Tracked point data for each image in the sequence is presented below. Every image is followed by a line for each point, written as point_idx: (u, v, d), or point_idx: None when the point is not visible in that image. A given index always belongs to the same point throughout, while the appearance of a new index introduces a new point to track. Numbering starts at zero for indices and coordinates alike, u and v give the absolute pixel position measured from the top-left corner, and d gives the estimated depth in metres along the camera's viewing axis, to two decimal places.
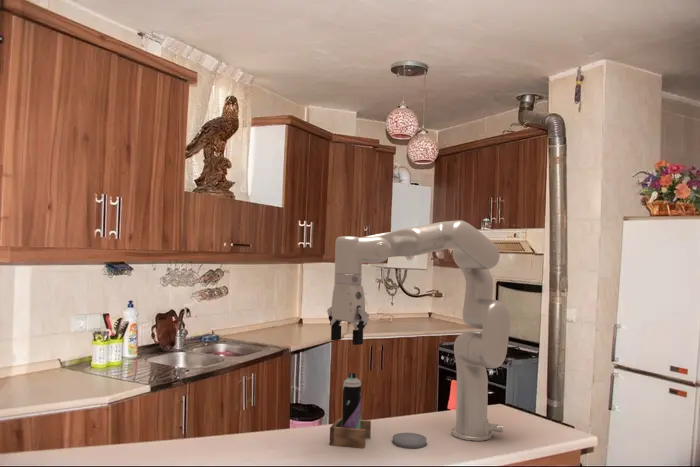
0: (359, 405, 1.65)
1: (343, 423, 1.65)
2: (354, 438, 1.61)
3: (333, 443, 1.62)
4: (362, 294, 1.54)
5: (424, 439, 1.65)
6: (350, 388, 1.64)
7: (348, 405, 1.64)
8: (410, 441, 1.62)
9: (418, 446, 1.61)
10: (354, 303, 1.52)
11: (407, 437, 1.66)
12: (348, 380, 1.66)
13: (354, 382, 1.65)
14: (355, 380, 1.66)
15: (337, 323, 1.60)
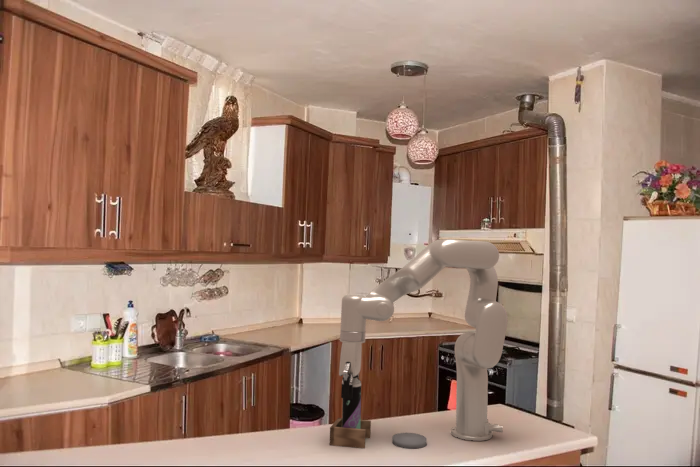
0: (359, 405, 1.65)
1: (343, 423, 1.65)
2: (354, 438, 1.61)
3: (333, 443, 1.62)
4: None
5: (424, 439, 1.65)
6: None
7: (348, 405, 1.64)
8: (410, 441, 1.62)
9: (418, 446, 1.61)
10: None
11: (407, 437, 1.66)
12: None
13: (354, 382, 1.65)
14: (355, 380, 1.66)
15: None
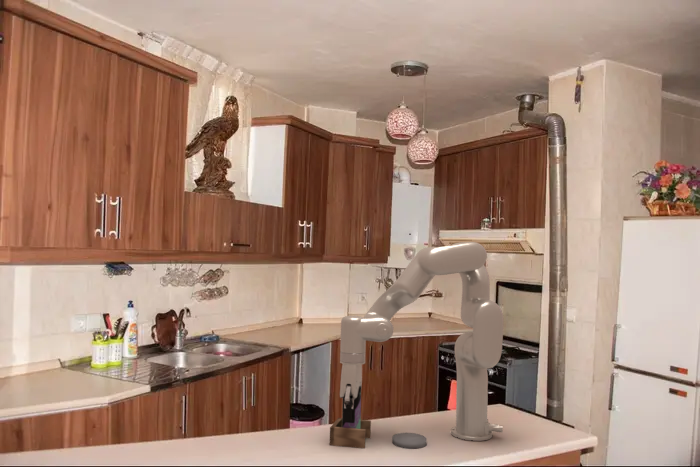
0: (359, 405, 1.65)
1: (343, 423, 1.65)
2: (354, 438, 1.61)
3: (333, 443, 1.62)
4: None
5: (424, 439, 1.65)
6: None
7: None
8: (410, 441, 1.62)
9: (418, 446, 1.61)
10: None
11: (407, 437, 1.66)
12: None
13: None
14: None
15: None
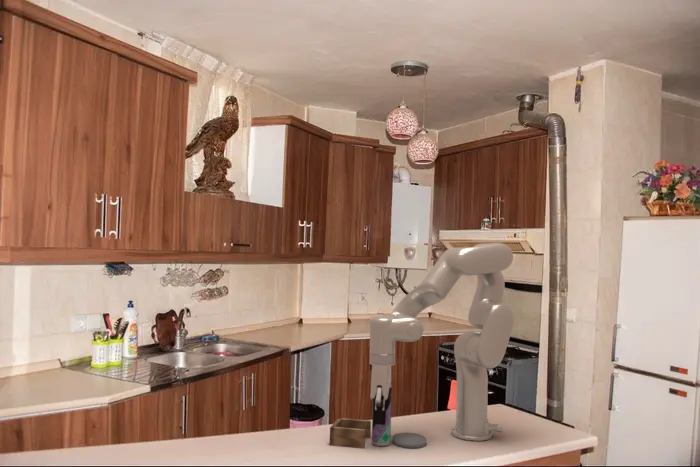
0: (389, 406, 1.64)
1: (373, 425, 1.63)
2: (354, 438, 1.61)
3: (333, 443, 1.62)
4: None
5: (424, 439, 1.65)
6: None
7: None
8: (410, 441, 1.62)
9: (418, 446, 1.61)
10: None
11: (407, 437, 1.66)
12: None
13: None
14: None
15: None
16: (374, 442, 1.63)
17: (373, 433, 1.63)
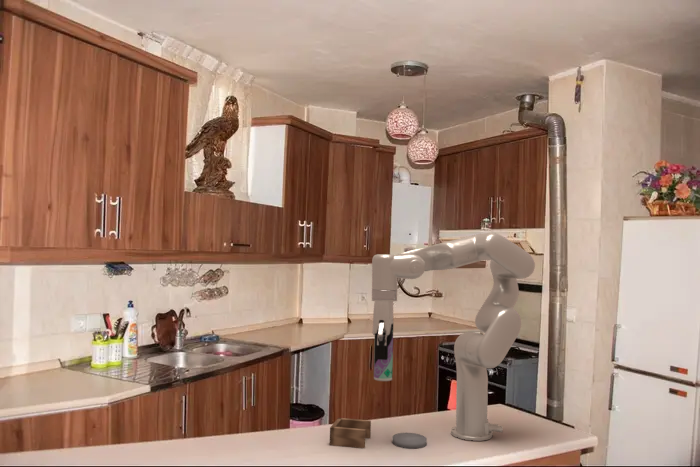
0: (391, 343, 1.64)
1: (375, 361, 1.64)
2: (354, 438, 1.61)
3: (333, 443, 1.62)
4: None
5: (424, 439, 1.65)
6: None
7: None
8: (410, 441, 1.62)
9: (418, 446, 1.61)
10: None
11: (407, 437, 1.66)
12: None
13: None
14: None
15: None
16: (376, 378, 1.64)
17: (375, 369, 1.64)
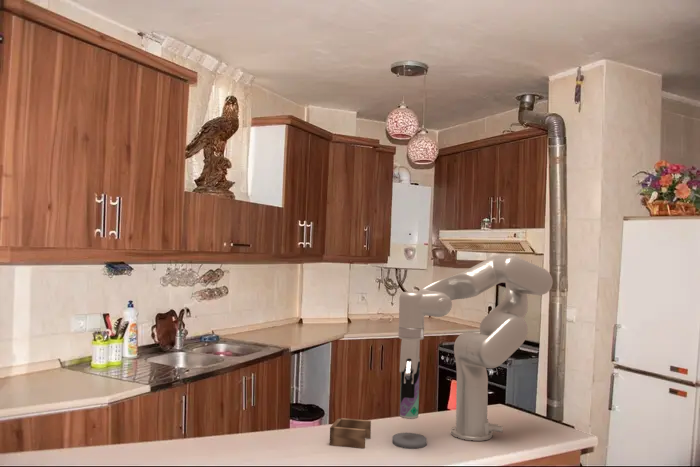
0: (418, 380, 1.65)
1: (402, 398, 1.65)
2: (354, 438, 1.61)
3: (333, 443, 1.62)
4: None
5: (424, 439, 1.65)
6: None
7: None
8: (410, 441, 1.62)
9: (418, 446, 1.61)
10: None
11: (407, 437, 1.66)
12: None
13: None
14: None
15: None
16: (402, 415, 1.64)
17: (401, 407, 1.65)
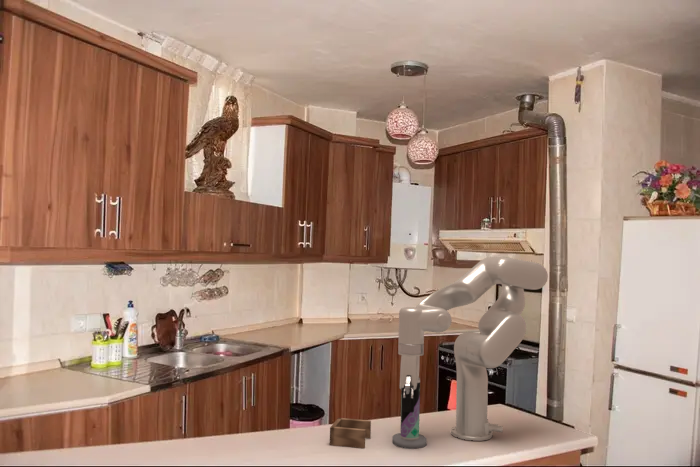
0: (418, 401, 1.65)
1: (402, 419, 1.65)
2: (354, 438, 1.61)
3: (333, 443, 1.62)
4: None
5: (424, 439, 1.65)
6: None
7: None
8: (410, 441, 1.62)
9: (418, 446, 1.61)
10: None
11: None
12: None
13: None
14: None
15: None
16: (403, 437, 1.64)
17: (402, 428, 1.65)
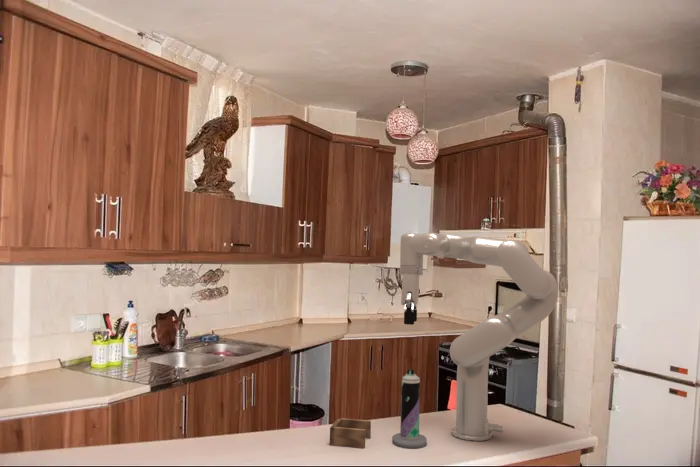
0: (418, 401, 1.65)
1: (402, 420, 1.65)
2: (354, 438, 1.61)
3: (333, 443, 1.62)
4: None
5: (424, 439, 1.65)
6: (409, 384, 1.64)
7: (408, 401, 1.64)
8: (410, 441, 1.62)
9: (418, 446, 1.61)
10: None
11: None
12: (407, 376, 1.65)
13: (413, 378, 1.65)
14: (414, 376, 1.65)
15: None
16: (403, 437, 1.64)
17: (402, 428, 1.65)
